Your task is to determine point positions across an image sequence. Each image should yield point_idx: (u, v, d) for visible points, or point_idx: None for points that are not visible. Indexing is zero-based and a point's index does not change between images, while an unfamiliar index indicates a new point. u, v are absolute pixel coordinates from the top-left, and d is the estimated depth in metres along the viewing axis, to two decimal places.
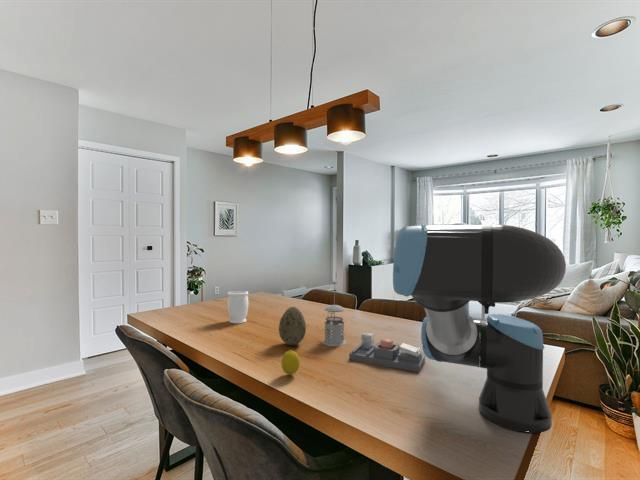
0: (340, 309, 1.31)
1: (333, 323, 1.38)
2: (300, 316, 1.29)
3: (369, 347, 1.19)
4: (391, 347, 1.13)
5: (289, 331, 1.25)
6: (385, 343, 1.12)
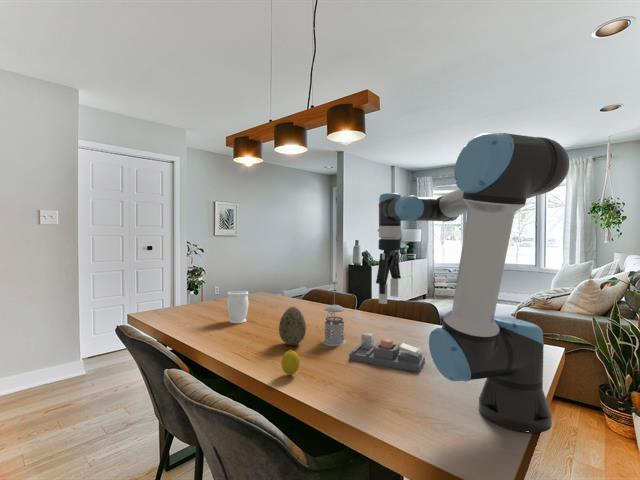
0: (340, 309, 1.31)
1: (333, 323, 1.38)
2: (300, 316, 1.29)
3: (369, 347, 1.19)
4: (391, 347, 1.13)
5: (289, 331, 1.25)
6: (385, 343, 1.12)
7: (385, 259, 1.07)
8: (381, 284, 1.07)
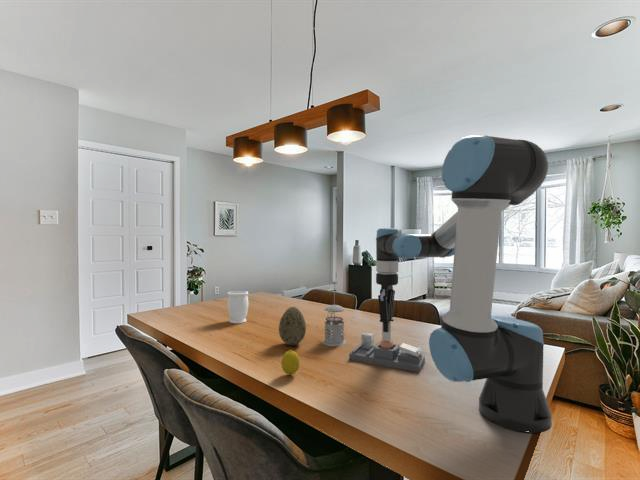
0: (340, 309, 1.31)
1: (333, 323, 1.38)
2: (300, 316, 1.29)
3: (369, 347, 1.19)
4: (391, 348, 1.13)
5: (289, 331, 1.25)
6: (385, 344, 1.12)
7: (384, 301, 1.09)
8: (384, 323, 1.12)
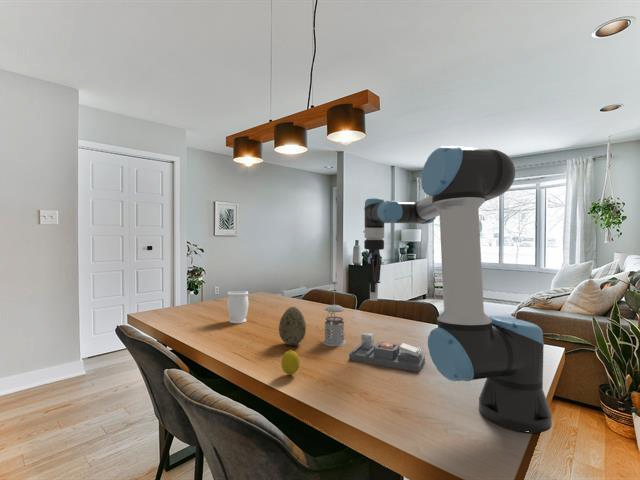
0: (340, 309, 1.31)
1: (333, 323, 1.38)
2: (300, 316, 1.29)
3: (369, 347, 1.19)
4: None
5: (289, 331, 1.25)
6: (385, 348, 1.12)
7: (371, 263, 1.21)
8: (372, 284, 1.25)
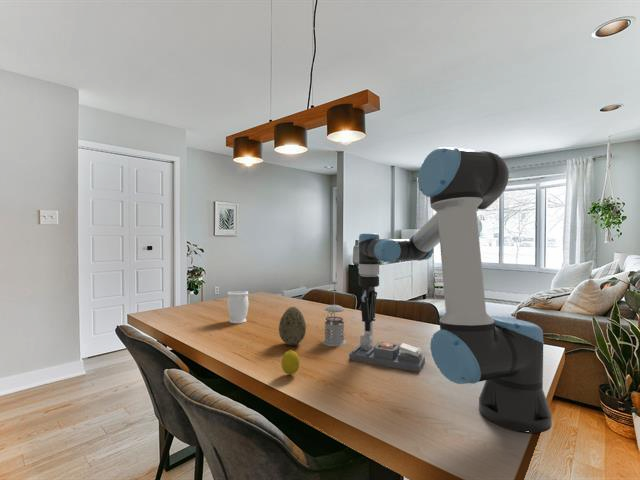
0: (340, 309, 1.31)
1: (333, 323, 1.38)
2: (300, 316, 1.29)
3: (368, 348, 1.18)
4: None
5: (289, 331, 1.25)
6: (385, 348, 1.12)
7: (365, 302, 1.16)
8: (366, 322, 1.19)
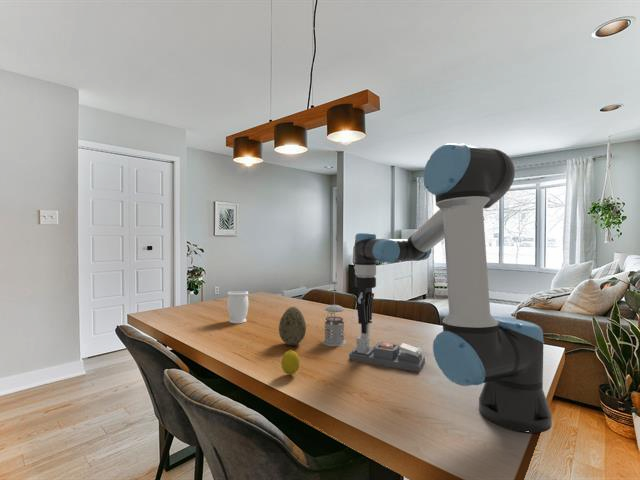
0: (340, 309, 1.31)
1: (333, 323, 1.38)
2: (300, 316, 1.29)
3: (364, 351, 1.14)
4: None
5: (289, 331, 1.25)
6: (385, 348, 1.12)
7: (362, 304, 1.13)
8: (363, 325, 1.16)
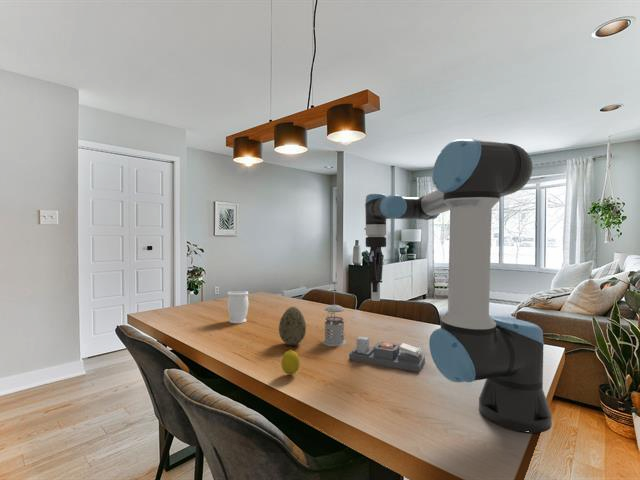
0: (340, 309, 1.31)
1: (333, 323, 1.38)
2: (300, 316, 1.29)
3: (364, 351, 1.14)
4: None
5: (289, 331, 1.25)
6: (385, 348, 1.12)
7: (373, 261, 1.16)
8: (374, 283, 1.19)
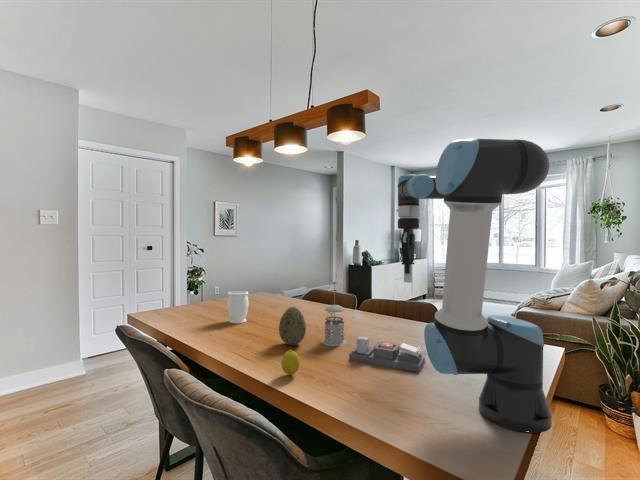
0: (340, 309, 1.31)
1: (333, 323, 1.38)
2: (300, 316, 1.29)
3: (364, 351, 1.14)
4: None
5: (289, 331, 1.25)
6: (385, 348, 1.12)
7: (406, 242, 1.15)
8: (406, 265, 1.19)
